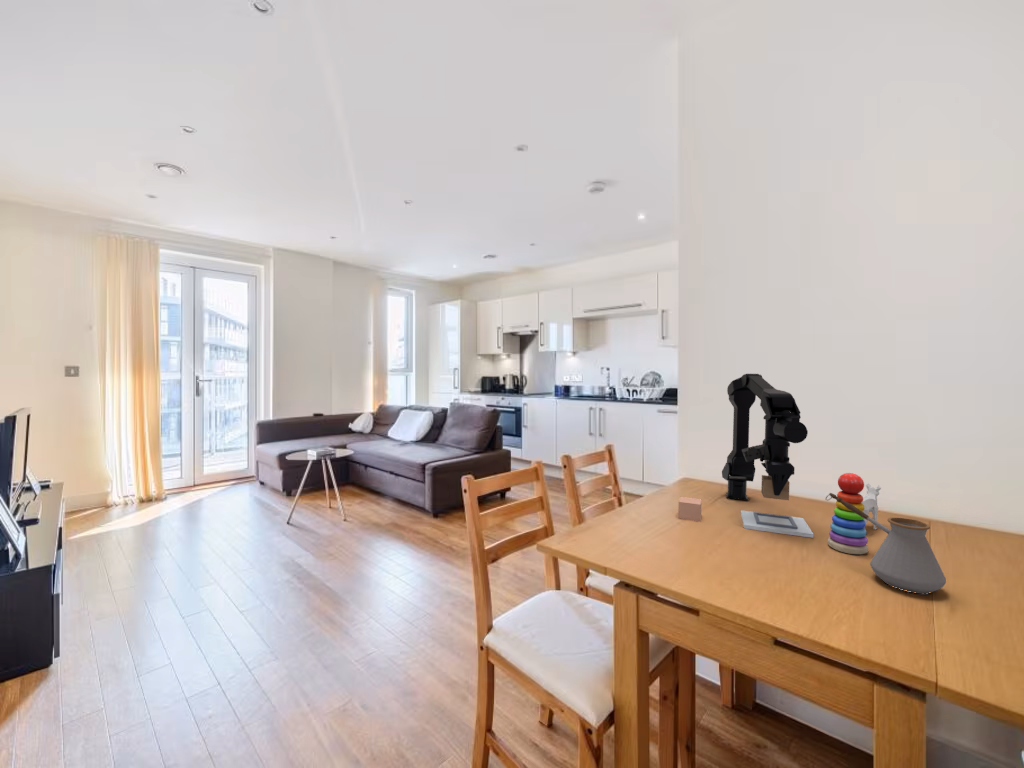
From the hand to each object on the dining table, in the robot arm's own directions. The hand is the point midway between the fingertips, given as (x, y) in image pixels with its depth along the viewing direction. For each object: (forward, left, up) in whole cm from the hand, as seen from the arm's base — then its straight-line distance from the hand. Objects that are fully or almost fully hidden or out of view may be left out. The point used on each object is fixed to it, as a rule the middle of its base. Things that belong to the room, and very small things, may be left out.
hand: (774, 492), depth 124 cm
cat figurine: (-5, +21, -9) cm, 24 cm away
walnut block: (0, 0, -1) cm, 1 cm away
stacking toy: (+12, +14, -9) cm, 21 cm away
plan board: (0, 0, -9) cm, 9 cm away
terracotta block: (+3, -22, -9) cm, 24 cm away
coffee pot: (+26, +16, -9) cm, 32 cm away
